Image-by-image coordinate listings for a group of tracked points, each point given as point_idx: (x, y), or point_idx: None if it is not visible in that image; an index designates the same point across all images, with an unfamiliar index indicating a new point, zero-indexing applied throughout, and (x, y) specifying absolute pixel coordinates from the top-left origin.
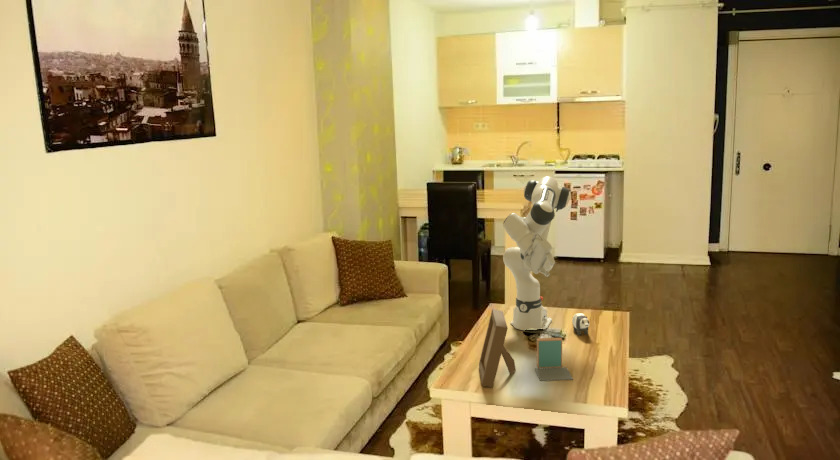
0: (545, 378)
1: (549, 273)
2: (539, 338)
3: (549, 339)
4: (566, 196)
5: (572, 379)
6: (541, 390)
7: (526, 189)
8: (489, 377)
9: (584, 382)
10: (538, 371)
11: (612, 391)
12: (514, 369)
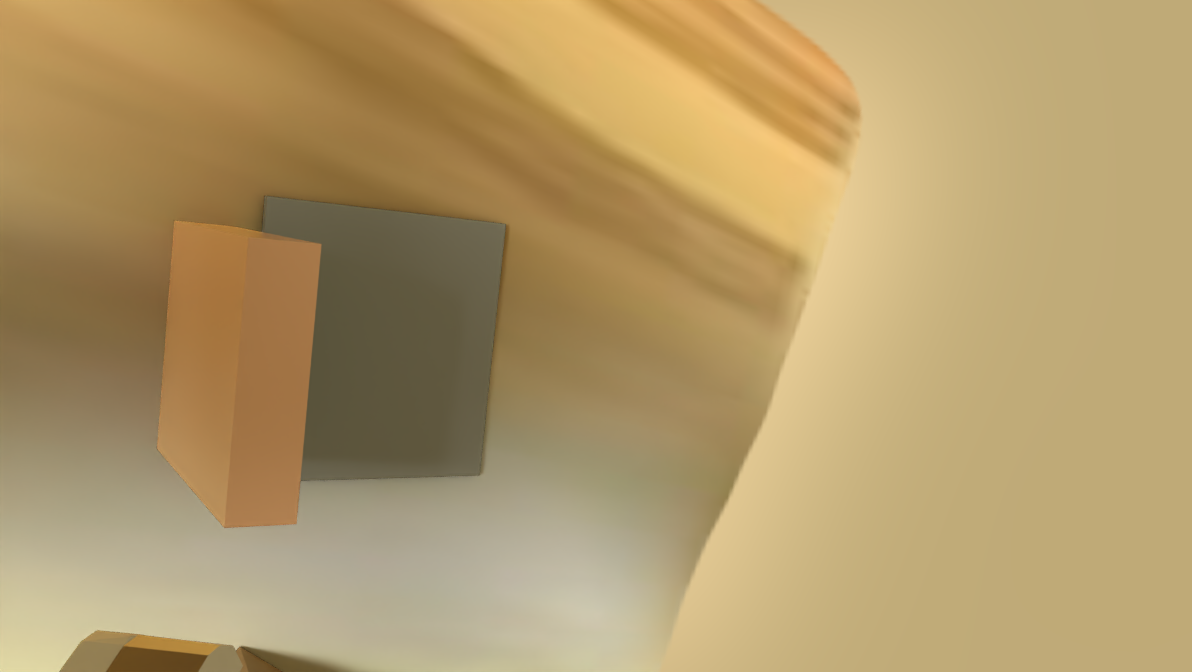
0: (462, 431)
1: (215, 658)
2: (232, 496)
3: (290, 387)
4: None
5: (503, 228)
6: (614, 489)
7: None
8: None
9: (559, 157)
10: (318, 461)
11: (716, 31)
12: (257, 663)
